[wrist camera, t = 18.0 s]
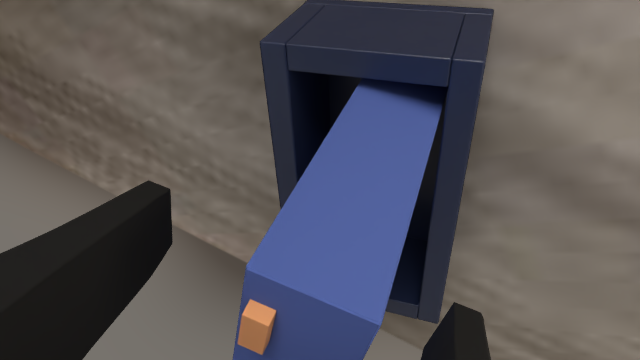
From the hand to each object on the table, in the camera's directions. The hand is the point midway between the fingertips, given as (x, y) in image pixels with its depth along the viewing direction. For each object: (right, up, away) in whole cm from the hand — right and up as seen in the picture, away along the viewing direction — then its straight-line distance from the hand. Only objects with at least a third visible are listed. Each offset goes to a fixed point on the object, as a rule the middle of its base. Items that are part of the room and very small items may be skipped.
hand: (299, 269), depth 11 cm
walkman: (+4, +4, +9) cm, 10 cm away
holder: (+4, +4, +9) cm, 11 cm away
